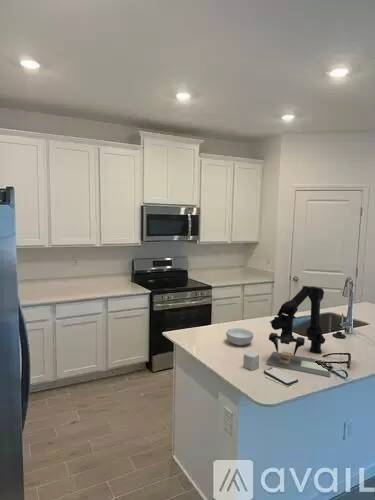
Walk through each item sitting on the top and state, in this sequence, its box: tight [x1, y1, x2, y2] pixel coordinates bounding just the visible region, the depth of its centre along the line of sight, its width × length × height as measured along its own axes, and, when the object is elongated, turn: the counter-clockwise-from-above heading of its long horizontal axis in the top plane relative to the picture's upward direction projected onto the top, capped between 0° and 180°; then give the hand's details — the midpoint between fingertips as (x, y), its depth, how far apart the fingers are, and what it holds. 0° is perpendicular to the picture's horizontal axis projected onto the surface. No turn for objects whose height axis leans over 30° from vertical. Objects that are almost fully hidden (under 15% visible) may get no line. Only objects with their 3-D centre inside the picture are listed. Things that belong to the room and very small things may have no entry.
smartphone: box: [263, 366, 299, 386], centre depth 172 cm, size 9×2×16 cm
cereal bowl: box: [225, 327, 254, 346], centre depth 216 cm, size 17×17×7 cm
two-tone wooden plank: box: [279, 351, 293, 365], centre depth 191 cm, size 12×5×3 cm, turn 156°
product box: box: [242, 351, 260, 371], centre depth 182 cm, size 6×6×7 cm
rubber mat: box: [266, 351, 332, 378], centre depth 188 cm, size 19×32×1 cm, turn 66°
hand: (285, 353), depth 191 cm, fingers open, 9 cm apart
